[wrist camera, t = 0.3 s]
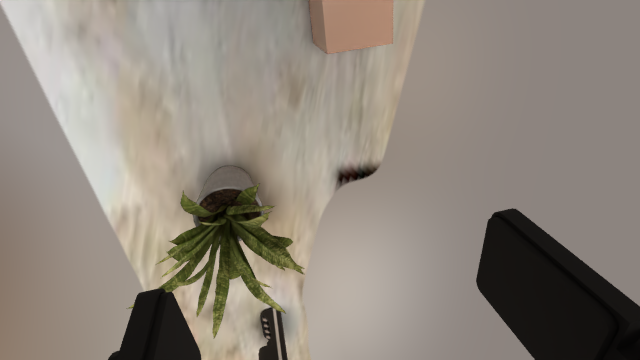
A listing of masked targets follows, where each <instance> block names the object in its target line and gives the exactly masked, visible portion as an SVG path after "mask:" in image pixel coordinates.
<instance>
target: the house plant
mask: <svg viewBox="0 0 640 360" xmlns="http://www.w3.org/2000/svg"><path fill="white" fill-rule="evenodd" d="M258 186H259V184H258V185H257V186H254V185H253V183H252V180H251V178H250V176H249V175H248V174H247V173H246V172H245V171H244V170H243V169H240V168H238V167H234V166H224V167H221V168H219V169H217V170H216V171H214V172H213V173H212V174H211V176H210V177H209V178H208V180H207V182H206V184H205V186H204V188H203V190H202V192H201V194H200V196H199V198H198V200H197V202H196V203H195V202H193V201H191V200H190V199H188V198H187V197H186V196H185V195H184V192H183V195H182V199H181V206H182V208H183V209H184V210H185V211H186V212H188V213H190V214H193V219H194V223H195V225H196V227H195V228H193V229H191V230H188V231H186V232H184V233H182V234H180V235H179V236H178V237H177V238H175V239H174V240H172V241H169V242H172V243H174V244H176V245H178V246H175V247H173V248H172V249H171V250H170V251H168V252H167V253H168V254H169V256H168V257H166V258H165V259H163V260H162V261H160V262H159V263H161V262H163V261H165V260H167V259H169V258H171V257H173V258H174V259H176V260H177V261H178V262H177V263H176V264H175V265H174V266H173V267H172V268H171V269H170V270H169V271H167V272H166V273H165V274H164V275H163V276H165V275H167V274H169V273H170V272H172V271H173V270H175V269H177V268H178V267H180V266H181V265H182V264H183V263H184V262H187V261H189V260H190V261H189V262H188V263H187V264H186V265H185V266H184V267H183V268H182V269H181V270H180V271H179V272H178V273H177V274H176V275H175V276H174V277H173V278H171V279H170V280H169V281H167V282H166V283H165V284H163V285H162V286H161V287H159V288H163V289H164V290H165V291H166V292H172V291H173V290H174V289H176V288H177V287H178V286H184V285H189V284H192V283H194V282H196V281H197V280H198V279H200V278H201V277H202V276H203V275H204V273H205V272H206V270H207V272H206V275H205V279H204V283H203V286H202V289H201V292H200V295H199V301H198V309H197V317H198V315H199V313H200V312H201V310H202V308H203V306H204V303H205V300H206V297H207V294H208V290H209V287H210V284H211V280H212V275H213V269H214V264H215V258H216V252H217V250H218V248H219V245H220V258H219V270H218V274H217V279H216V284H217V287H216V291H215V293H216V296H215V302H214V307H213V323H214V324H213V335H214V338H215V336H216V334H217V332H218V330H219V327H220V324H221V321H222V317H223V313H224V308H225V303H226V299H227V295H228V289H229V279H234V278H237V277H239V276H240V275H241V277H242V279H243V281H244V283H245V284H246V286H247V288H248V289H249V290H250V292H251V293H252V294H253V295H254V296H255V297H256V298H257V299H259V300H260V301H262V302H264V303H266V304H268V305H269V306H271V307H272V308H274V309H276V310H278V311H281V312H284V313H285V311H284V310H283V309H282V308H281V307H280V306H279V305H278V304H277V303H276V302H274V301H273V300H272V299H271V298H270V297H269V296H268V295H267V294H266V293H265V292H264V290H263V289H262V288H261V286H260V285H262V286H265V287H270V286H268V285H266V284H263V283H262V282H260V281H258V280H256V277H255V275H254V273H253V271H252V269H251V267H250V265H249V263H248V261H247V259H246V257H245V254H244V252H243V250H242V248H241V246H240V244H239V241H241V240H243V242H244V243H245V244H246V245H247V246H248V247H249V248H250V249H251V250H252V251H253V252H255V253H256V254H257V255H259V256H261V257H262V258H263V259H265V260H266V261H268V262H269V263H271V264H273V265H276V266H277V267H278V268H280V269H283V270H285V269H284V268H283V267H286V268H290V269H294V270H296V271H298V272H300V273H302V274H303V272H302V271H301V268H303V267H301V266H298V265H297V264H296V263H295V262H294V261H293V260H292V258H291V256H290V254H289V252H288V251H287V249H286V247H288V246H289V245H291V244H292V243H293V241H292V240H291V239H289V238H285V237H278V236H272V235H271V234H270V233H268V232H267V231H266V230H264V229H263V228H262V227H261V225H262V223H264V222H265V221H266V220H267V219H268V215H269V213H270V212H268V213H265V214H264V210H267V209H270V208H273V207H275V206H262V203H261V201H260V199H259V196H258V194H257V189H258ZM271 212H272V211H271ZM218 242H219V243H218ZM211 244H212V247H211V250H210V255H209V261H208V262H207V264H206V265H205V266H204V268H203V269H202V270H201V271H200V272H198V273H197V274H196V275H195V276H193V277H192V278H190V279H188V280H186V279H187V278H188V277H189V276H190V275H191V274H192V272H193V271H194V269H195V268H196V266H197V265H198V263H199V262H200V261H201V259H202V258H203V257H204V255H205V254H206V252H207V251H208V249H209V248H210V246H211ZM157 264H158V263H157ZM303 269H304V268H303ZM163 276H162V277H163ZM185 280H186V281H185ZM259 284H260V285H259ZM159 288H158V289H159ZM133 306H134V305H132V306H131V307H129V308H133ZM197 317H196V318H197Z"/></svg>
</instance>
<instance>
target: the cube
mask: <svg viewBox="0 0 640 360" xmlns="http://www.w3.org/2000/svg"><path fill="white" fill-rule="evenodd" d="M309 8H310V16H311V25H312V34H313V43H314V44H315V45H316V46H318V47H319V48H320V49H322V50H323V51H324V52H325V53H327V54H330V53H336V52H343V51H349V50H355V49H361V48H367V47H373V46H380V45H386V44H392V43H393V0H309Z"/></svg>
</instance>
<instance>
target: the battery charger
mask: <svg viewBox="0 0 640 360" xmlns="http://www.w3.org/2000/svg"><path fill="white" fill-rule="evenodd" d="M261 323H262V328H263V333H264V337H265V338H267V339H268V340H269V341H268V342H267V346H264V347H262V348H260V350H259V360H288V359H287V352H286V345H285V338H284V331H283V325H282V318H281V311H278V310H276V309H274V308H273V309H269V310H266V311H264V312H262V313H261Z"/></svg>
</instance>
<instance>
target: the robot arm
mask: <svg viewBox="0 0 640 360" xmlns="http://www.w3.org/2000/svg"><path fill="white" fill-rule="evenodd" d="M476 282H477V286H478V289H479V290H480V292H481V293H482V294H483V296H484V297H485V298H486V299H487V301H488V302H489V303H490V304H491V306H492V307H493V308H494V309H495V311H496V312H497V313H498V314H499V316H500V317H501V318H502V319H503V321H504V322H505V323H506V324H507V326H508V327H509V328H510V329H511V330H512V332H513V333H514V334H515V335H516V337H517V338H518V339H519V340H520V342H521V343H522V344H523V345H524V347H525V348H526V349H527V350H528V352H529V353H530V354H531V355H532V357H533V358H534V359H535V360H640V306H638V305H637V304H636V303H635V302H633V301H632V300H631V299H629V298H628V297H627V296H625V294H623V293H622V292H621V291H619V290H618V289H617V288H616V287H614V286H613V285H612V284H610V283H609V282H608V281H607V280H605V279H604V278H603V277H602V276H600V275H599V274H598V273H596V272H595V271H594V270H593V269H592V268H590V267H589V266H588V265H587V264H585V263H584V262H583V261H582V260H580V259H579V258H578V257H576V256H575V255H574V254H573V253H571V252H570V251H569V250H568V249H566V248H565V247H564V246H563V245H561V244H560V243H558V242H557V241H556V240H555V239H554V238H552V237H551V236H550V235H549V234H547V233H546V232H545V231H544V230H542V229H541V228H540V227H538V226H537V225H536V224H535V223H533V222H532V221H531V220H530V219H528V218H527V217H526V216H525V215H523V214H522V213H521V212H519V211H518V210H516V209H508V210H504V211H499V212H495V213H494V214H493V215H492V217H491V218H490V219H489V220H488V223H487V228H486V233H485V238H484V244H483V249H482V254H481V259H480V264H479V269H478V274H477V279H476ZM108 360H201V354H200V350H199V348H198V346H197V344H196V342H195V339H194V337H193V335H192V333H191V331H190V329H189V327H188V324H187V322H186V320H185V318H184V316H183V314H182V312H181V309H180V307H179V305H178V303H177V301H176V299H175V297H174V294H173V293H172V292H166V291H165V290H164V289H163V288H159V289H154V290H150V291H146V292H141V293H139V294H138V295H137V297H136V300H135V303H134V306H133V310H132V313H131V316H130V320H129V322H128V325H127V329H126V332H125V335H124V338H123V341H122V344H121V348H120V351H116V352H114V353H112V355H111V356H110V357H109V359H108Z"/></svg>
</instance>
